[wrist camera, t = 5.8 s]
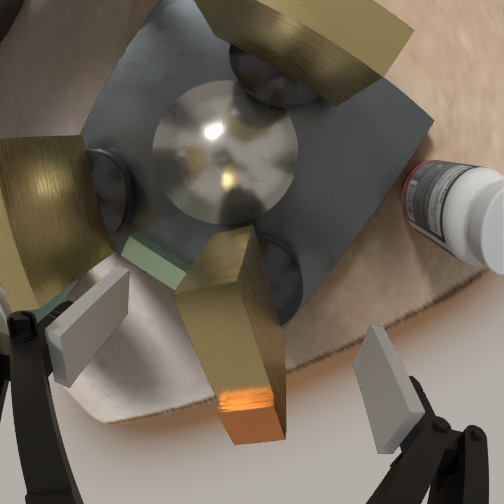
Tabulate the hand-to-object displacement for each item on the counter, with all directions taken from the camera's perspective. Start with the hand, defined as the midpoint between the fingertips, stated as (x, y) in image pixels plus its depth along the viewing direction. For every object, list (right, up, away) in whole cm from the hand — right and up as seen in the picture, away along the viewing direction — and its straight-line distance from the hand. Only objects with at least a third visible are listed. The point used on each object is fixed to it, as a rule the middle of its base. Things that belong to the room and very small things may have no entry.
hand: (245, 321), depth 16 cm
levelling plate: (-1, +10, +5) cm, 11 cm away
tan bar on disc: (0, +2, +5) cm, 6 cm away
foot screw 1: (-11, +8, +4) cm, 14 cm away
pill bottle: (+14, +8, +5) cm, 16 cm away
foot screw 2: (+2, +15, +1) cm, 15 cm away
